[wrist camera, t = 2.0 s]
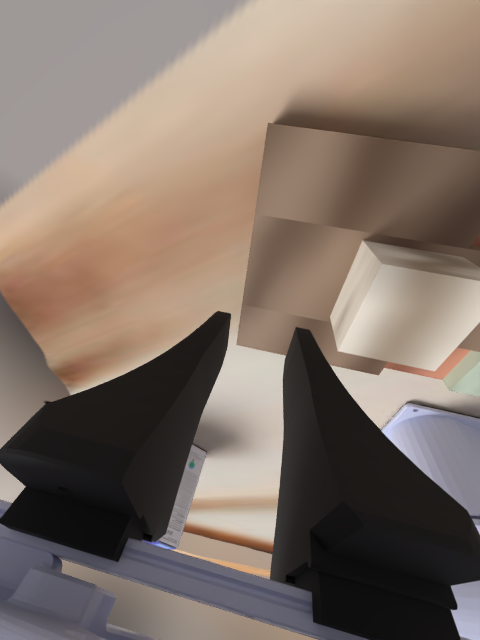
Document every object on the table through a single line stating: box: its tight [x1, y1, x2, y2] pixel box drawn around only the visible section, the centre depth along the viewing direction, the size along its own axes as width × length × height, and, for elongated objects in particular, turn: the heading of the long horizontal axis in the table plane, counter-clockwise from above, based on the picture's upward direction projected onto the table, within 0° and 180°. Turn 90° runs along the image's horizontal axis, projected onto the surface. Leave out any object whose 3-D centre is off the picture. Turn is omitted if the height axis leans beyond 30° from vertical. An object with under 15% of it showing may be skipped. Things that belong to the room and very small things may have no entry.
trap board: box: [237, 123, 480, 397], centre depth 16 cm, size 28×16×2 cm, turn 84°
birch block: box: [330, 240, 480, 371], centre depth 15 cm, size 6×6×4 cm
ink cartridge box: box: [142, 444, 207, 550], centre depth 33 cm, size 10×6×14 cm, turn 49°
